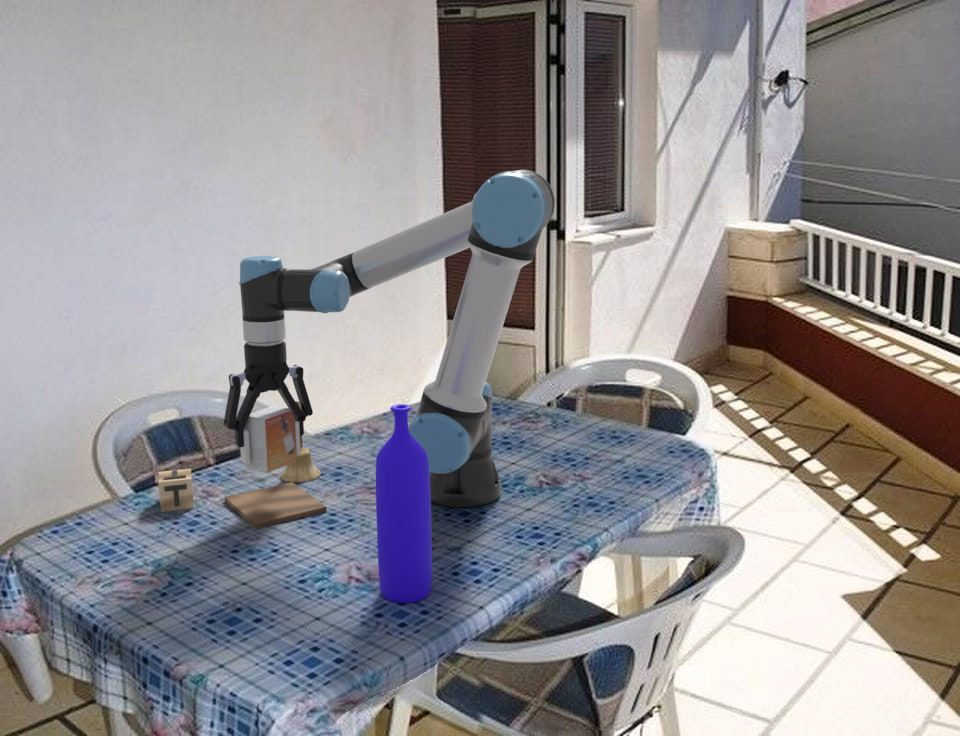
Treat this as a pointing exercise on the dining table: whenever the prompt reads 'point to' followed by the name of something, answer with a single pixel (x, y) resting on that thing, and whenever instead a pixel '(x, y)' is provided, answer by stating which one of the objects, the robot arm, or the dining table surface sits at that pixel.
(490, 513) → the dining table surface
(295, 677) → the dining table surface
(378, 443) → the dining table surface
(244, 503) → the walnut board
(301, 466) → the hand bell
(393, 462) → the bottle
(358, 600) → the dining table surface
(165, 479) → the letter cube
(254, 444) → the small box
